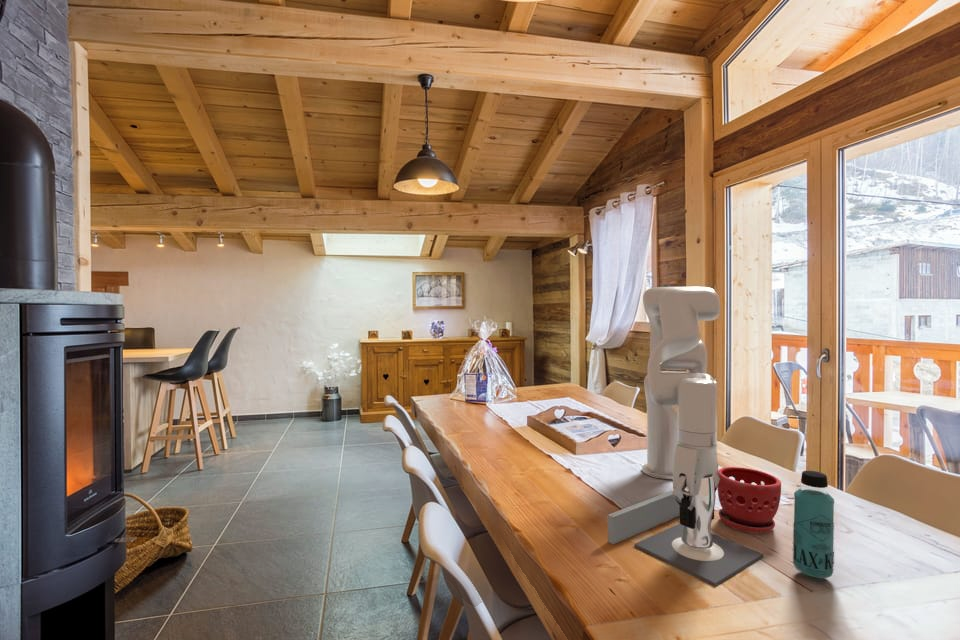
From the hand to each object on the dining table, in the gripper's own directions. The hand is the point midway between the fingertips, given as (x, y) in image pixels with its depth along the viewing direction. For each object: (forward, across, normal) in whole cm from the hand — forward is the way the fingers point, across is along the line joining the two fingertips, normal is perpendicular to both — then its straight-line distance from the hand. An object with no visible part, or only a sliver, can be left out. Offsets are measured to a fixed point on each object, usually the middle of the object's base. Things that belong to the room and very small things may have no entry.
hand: (697, 521), depth 100 cm
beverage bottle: (+7, -9, +18) cm, 21 cm away
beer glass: (+5, 0, 0) cm, 5 cm away
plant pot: (+7, -21, 0) cm, 22 cm away
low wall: (+6, -2, -13) cm, 14 cm away
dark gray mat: (+6, 0, 0) cm, 6 cm away
